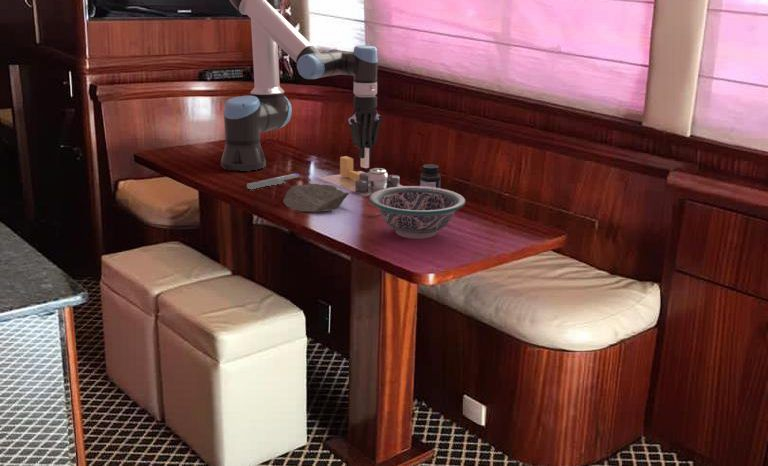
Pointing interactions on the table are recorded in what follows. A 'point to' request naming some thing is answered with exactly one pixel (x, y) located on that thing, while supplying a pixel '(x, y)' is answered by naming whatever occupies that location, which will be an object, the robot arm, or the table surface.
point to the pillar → (271, 181)
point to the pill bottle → (430, 176)
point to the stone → (314, 197)
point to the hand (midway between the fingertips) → (364, 167)
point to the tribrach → (375, 181)
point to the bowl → (417, 209)
